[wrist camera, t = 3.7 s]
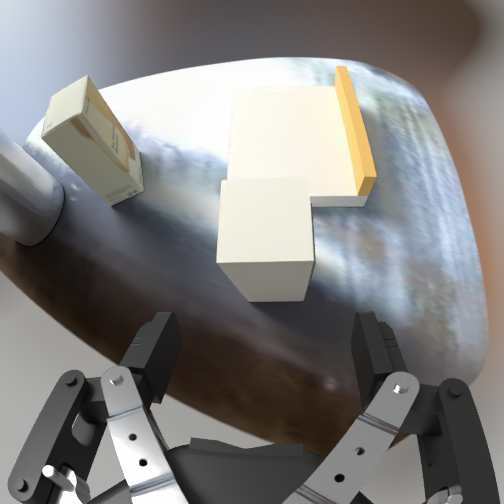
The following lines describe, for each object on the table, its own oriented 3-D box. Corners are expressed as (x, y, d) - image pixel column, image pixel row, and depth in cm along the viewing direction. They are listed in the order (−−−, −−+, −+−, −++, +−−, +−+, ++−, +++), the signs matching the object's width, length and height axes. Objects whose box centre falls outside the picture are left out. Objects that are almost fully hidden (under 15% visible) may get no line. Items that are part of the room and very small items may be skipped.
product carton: (248, 301, 24) (216, 262, 14) (249, 249, 26) (221, 180, 15) (306, 300, 24) (319, 260, 13) (305, 248, 25) (313, 176, 15)
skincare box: (145, 192, 29) (82, 113, 17) (110, 207, 29) (38, 141, 17) (139, 148, 31) (88, 71, 20) (107, 163, 31) (49, 95, 20)
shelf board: (230, 210, 27) (217, 180, 22) (236, 102, 31) (229, 70, 27) (363, 206, 26) (376, 176, 21) (341, 99, 30) (345, 66, 25)
